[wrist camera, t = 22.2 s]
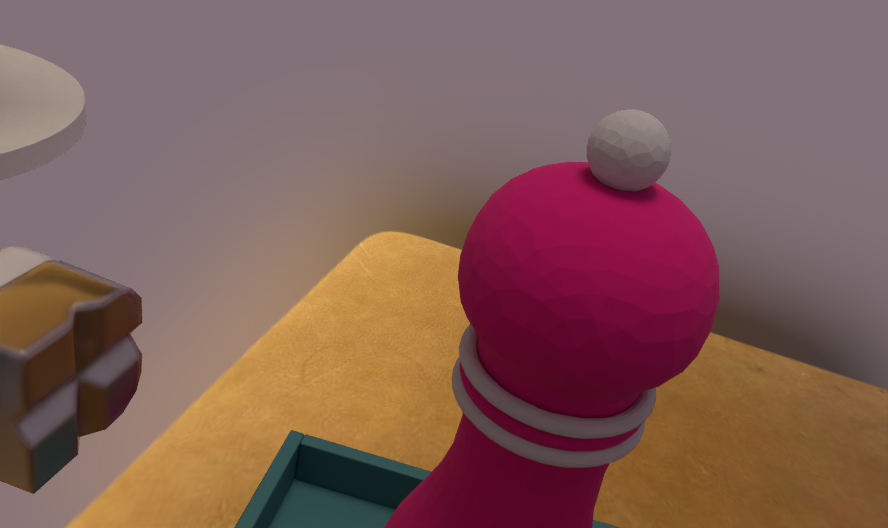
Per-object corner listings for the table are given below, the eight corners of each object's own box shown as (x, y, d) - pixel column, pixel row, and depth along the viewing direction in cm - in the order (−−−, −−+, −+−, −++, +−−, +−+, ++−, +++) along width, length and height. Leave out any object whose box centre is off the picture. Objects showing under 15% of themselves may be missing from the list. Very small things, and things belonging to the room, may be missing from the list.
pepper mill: (543, 602, 30) (743, 91, 20) (575, 812, 24) (884, 216, 14) (352, 580, 29) (465, 37, 20) (332, 792, 23) (484, 145, 13)
